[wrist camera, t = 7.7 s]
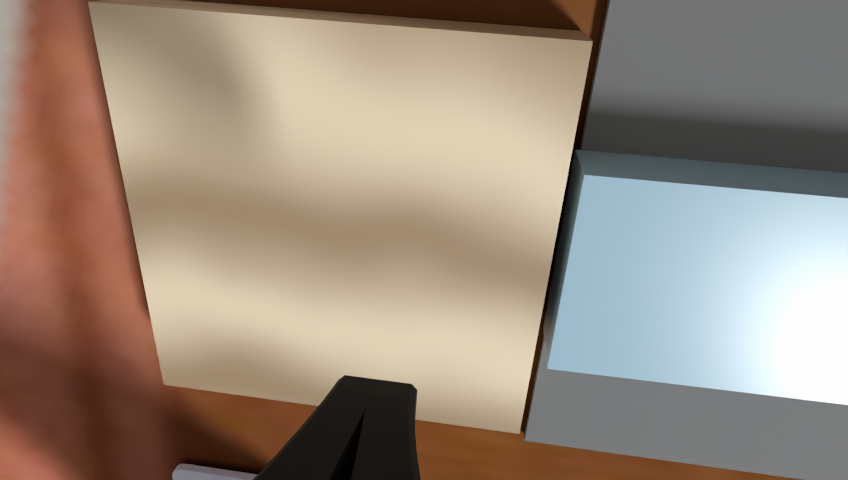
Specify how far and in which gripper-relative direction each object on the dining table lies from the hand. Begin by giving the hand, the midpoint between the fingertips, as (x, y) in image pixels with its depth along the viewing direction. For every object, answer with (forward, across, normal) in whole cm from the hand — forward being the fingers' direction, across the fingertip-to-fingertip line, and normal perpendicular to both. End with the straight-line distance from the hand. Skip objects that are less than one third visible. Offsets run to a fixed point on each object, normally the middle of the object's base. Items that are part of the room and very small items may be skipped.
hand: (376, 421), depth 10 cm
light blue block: (+8, -8, 0) cm, 11 cm away
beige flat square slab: (+8, +2, 0) cm, 8 cm away
